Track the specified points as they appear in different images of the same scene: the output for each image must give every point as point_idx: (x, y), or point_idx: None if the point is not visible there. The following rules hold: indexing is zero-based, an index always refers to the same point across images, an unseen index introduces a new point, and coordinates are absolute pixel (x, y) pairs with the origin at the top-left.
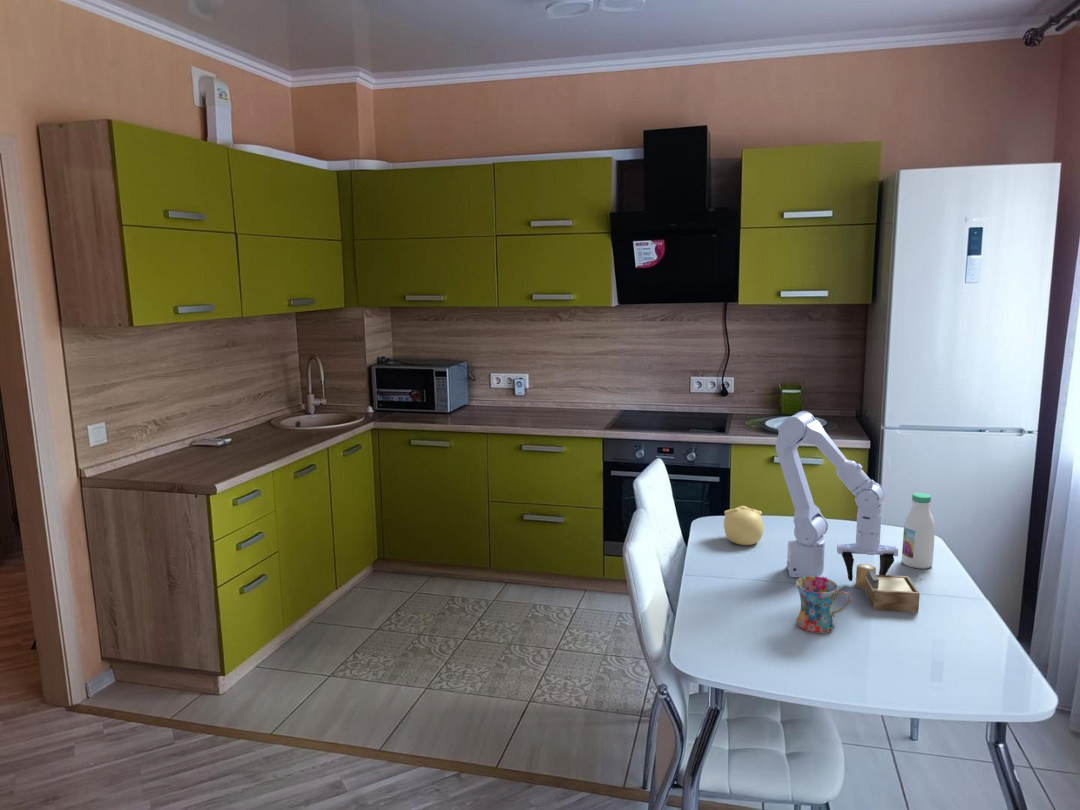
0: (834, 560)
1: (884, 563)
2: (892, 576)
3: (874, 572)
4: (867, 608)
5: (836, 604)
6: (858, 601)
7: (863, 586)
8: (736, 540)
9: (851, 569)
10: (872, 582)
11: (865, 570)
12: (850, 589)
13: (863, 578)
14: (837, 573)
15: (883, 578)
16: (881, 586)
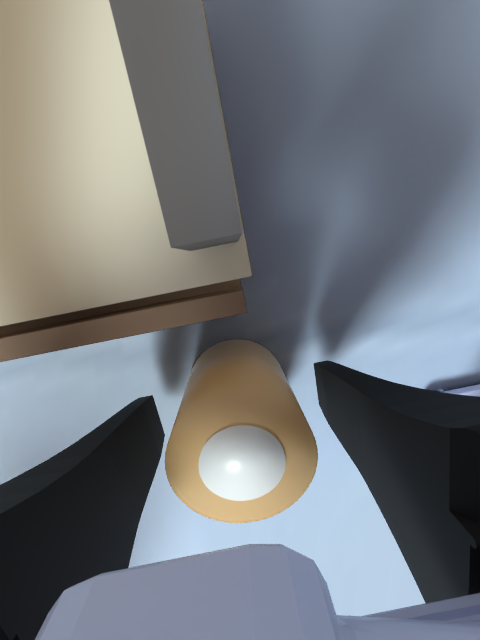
0: (357, 595)
1: (33, 491)
2: (7, 339)
3: (178, 417)
4: (227, 29)
5: (417, 35)
6: (279, 138)
7: (247, 344)
8: None
9: (365, 387)
10: None
11: (250, 397)
12: (313, 307)
13: (255, 363)
14: (359, 477)
15: (84, 269)
16: (80, 6)
